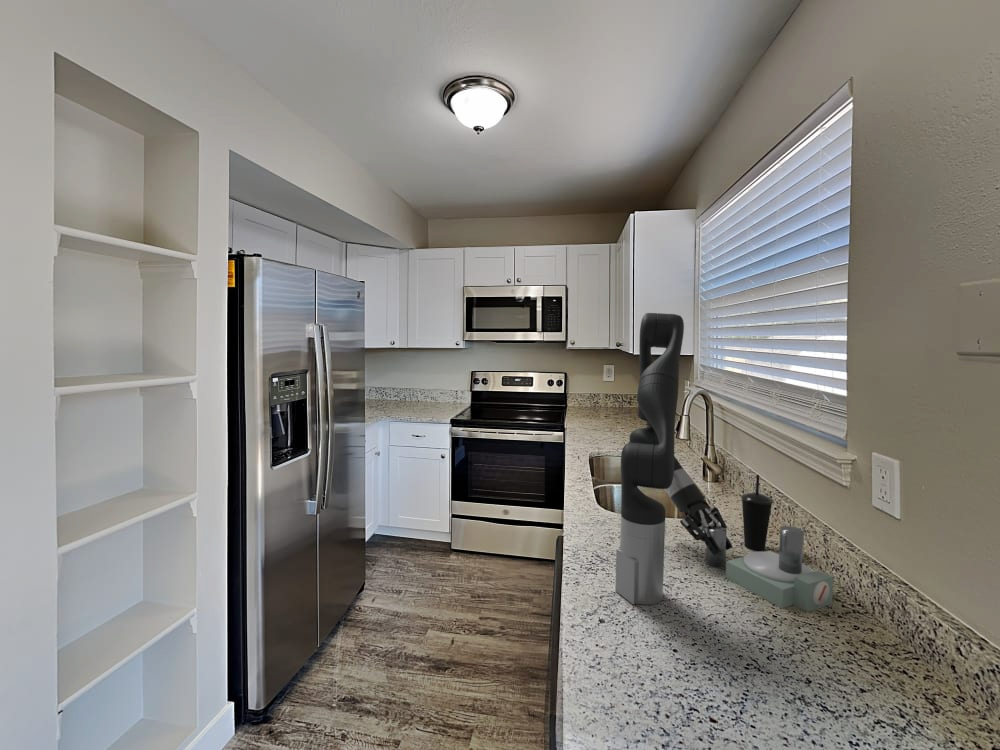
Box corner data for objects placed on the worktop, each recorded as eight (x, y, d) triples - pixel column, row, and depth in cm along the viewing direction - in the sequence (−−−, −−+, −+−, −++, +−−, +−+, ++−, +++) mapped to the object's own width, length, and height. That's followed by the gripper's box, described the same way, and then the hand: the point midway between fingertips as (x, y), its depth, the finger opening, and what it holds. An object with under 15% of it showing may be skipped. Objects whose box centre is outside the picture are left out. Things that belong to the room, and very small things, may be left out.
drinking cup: (768, 556, 121) (772, 480, 120) (736, 548, 126) (739, 475, 125) (772, 546, 128) (776, 474, 126) (741, 539, 132) (744, 469, 131)
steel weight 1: (716, 569, 114) (717, 533, 113) (702, 561, 118) (703, 527, 117) (729, 566, 116) (730, 530, 115) (714, 558, 120) (716, 524, 119)
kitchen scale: (798, 617, 94) (800, 588, 94) (725, 577, 110) (726, 552, 110) (844, 601, 100) (846, 574, 100) (769, 566, 116) (770, 542, 116)
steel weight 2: (793, 575, 101) (795, 535, 100) (773, 566, 105) (775, 527, 104) (806, 571, 103) (808, 532, 102) (787, 563, 107) (788, 524, 106)
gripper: (674, 487, 118) (717, 551, 109) (707, 478, 126) (750, 537, 117) (656, 501, 123) (696, 564, 113) (689, 492, 131) (729, 550, 121)
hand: (723, 550), depth 115 cm, fingers closed on steel weight 1, 4 cm apart
